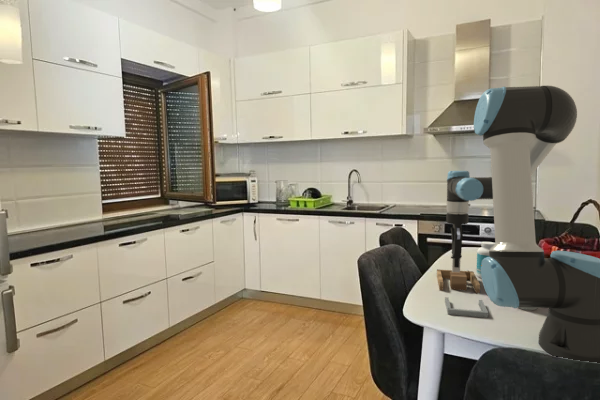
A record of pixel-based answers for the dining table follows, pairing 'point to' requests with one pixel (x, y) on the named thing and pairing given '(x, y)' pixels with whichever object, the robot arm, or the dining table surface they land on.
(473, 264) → the dining table surface
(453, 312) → the grey u-shaped bracket
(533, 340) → the dining table surface
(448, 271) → the brown u-shaped frame
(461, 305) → the dining table surface
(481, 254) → the pill bottle
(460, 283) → the cube
